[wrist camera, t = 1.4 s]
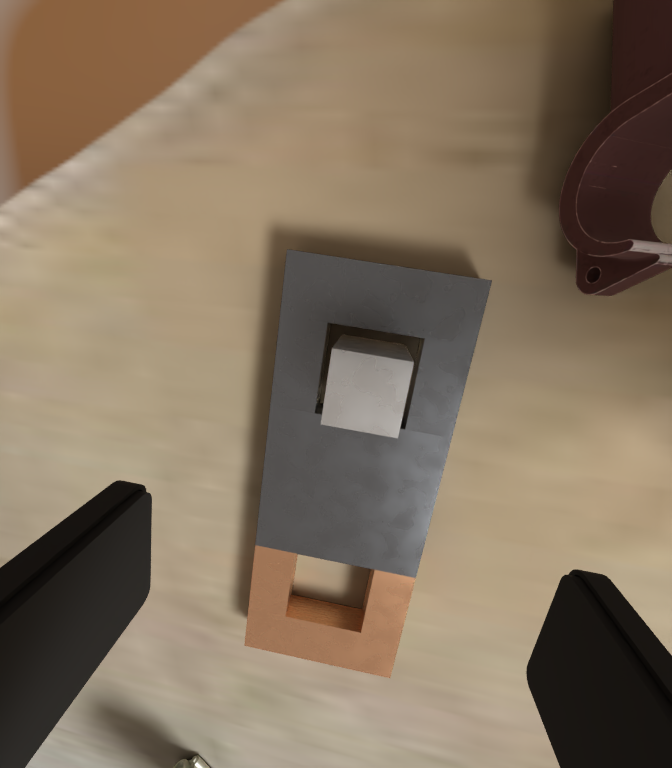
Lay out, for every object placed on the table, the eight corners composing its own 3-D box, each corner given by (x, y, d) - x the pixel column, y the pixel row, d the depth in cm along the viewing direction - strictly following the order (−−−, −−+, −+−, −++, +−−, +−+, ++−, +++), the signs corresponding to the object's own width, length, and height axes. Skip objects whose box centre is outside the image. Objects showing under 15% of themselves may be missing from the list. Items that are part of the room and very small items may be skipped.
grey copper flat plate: (481, 281, 27) (491, 280, 24) (389, 652, 36) (390, 678, 34) (294, 252, 28) (287, 249, 25) (253, 622, 37) (244, 645, 35)
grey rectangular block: (405, 344, 29) (414, 362, 22) (393, 404, 30) (397, 438, 23) (342, 334, 29) (332, 348, 22) (332, 393, 30) (320, 424, 24)
